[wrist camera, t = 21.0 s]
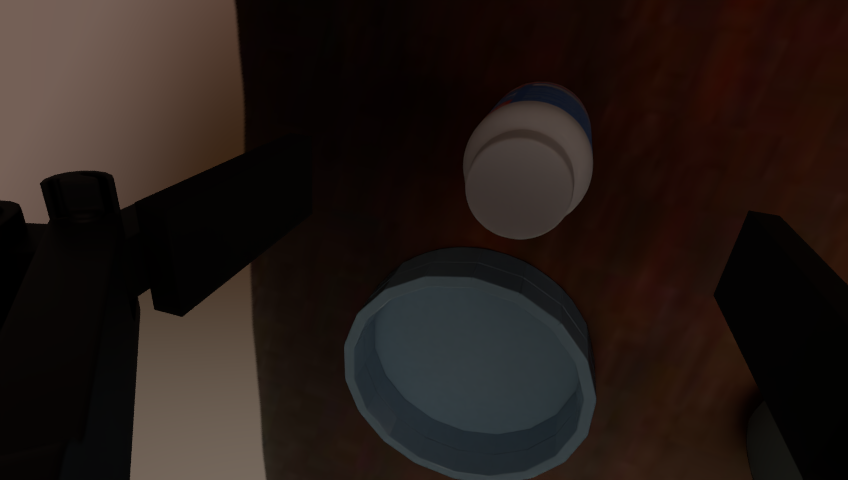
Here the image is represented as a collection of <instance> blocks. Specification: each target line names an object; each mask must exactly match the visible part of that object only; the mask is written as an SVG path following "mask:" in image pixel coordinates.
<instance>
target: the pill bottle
mask: <svg viewBox="0 0 848 480" xmlns="http://www.w3.org/2000/svg"><path fill="white" fill-rule="evenodd" d="M592 170H593V152H592V137H591V124H590V119H589V116H588V113H587V111H586V109H585V107H584V105H583V104H582V102H581V101H580V99H579V98H578V97H577V96H576V95H575V94H574V93H572V92H571V91H570V90H568V89H567V88H565V87H563V86H561V85H558V84H555V83H551V82H532V83H527V84H524V85H521V86H519V87H517V88H515V89H513V90H512V91H510V92H509V93H507V94H506V95H505V96H504V97H503V98H502V99H501V100H500V101H499V102H498V103H497V104H496V105H495V107H494V108H493V109H492V110H491V111H490V112H489V114H488V115H487V116H486V117H485V118H484V119H483V120H482V121H481V123H480V124H479V125H478V126H477V128H476V129H475V130H474V132H473V134H472V135H471V137H470V139H469V141H468V143H467V146H466V149H465V153H464V160H463V173H464V179H465V182H466V183H465V192H466V198H467V202H468V205H469V208H470V210H471V212H472V213H473V215H474V216H475V218H476V219H477V220H478V221H479V222H480V223H481V224H482V225H483V226H484V227H485V228H487V229H488V230H490V231H491V232H493V233H495V234H497V235H499V236H502V237H506V238H510V239H529V238H534V237H537V236H540V235H543V234H545V233H547V232H549V231H550V230H552V229H553V228H554V227H555V226H557V225H558V224H559V223H560V222H561V221H562V219H563V218H564V217H565V216H566V215H567V214H569V213H570V212H571V211H572V210H573V209H574V208H575V207H576V206H577V205H578V204H579V203H580V201H581V200H582V199H583V197H584V195H585V194H586V192H587V189H588V187H589V184H590V181H591V177H592Z"/></svg>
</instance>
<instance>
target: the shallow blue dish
mask: <svg viewBox="0 0 848 480" xmlns="http://www.w3.org/2000/svg"><path fill="white" fill-rule="evenodd" d="M344 354H345V378H346V379H345V380H346V382H347V384H348V387H349V389H350V392H351V394H352V396H353V399H354V401H355V404H356V406H357V408H358V411H359V412H360V413H361V414H362V416H363V417H364V418H365V419H366V420H367V422H368V423H369V424H370V425H371V426H372V428H373V429H374V430H375V431H376V432H377V434H378V435H379V436H380V437H381V438H382V439H383V440H384V441H385V442H386V443H388V444H389V445H390V446H392V447H393V448H395V449H396V450H397V451H399V452H400V453H402V454H403V455H404V456H406V457H407V458H409V459H410V460H412V461H413V462H415V463H416V464H419V465H421V466H424V467H426V468H429V469H431V470H434V471H436V472H439V473H441V474H444V475H446V476H449V477H451V478H454V479H462V480H524V479H530V478H533V477H535V476H537V475H539V474H541V473H543V472H545V471H547V470H550V469H552V468H554V467H556V466H558V465H560V464H562V463H563V462H565V461H566V460H567V459H568V458H569V457H570V455H571V454H572V453H573V452H574V451H575V450H576V448H577V447H578V446H579V445H580V444H581V443H582V442H583V440H584V439H585V438H586V437H587V435H588V432H589V428H590V424H591V420H592V416H593V412H594V408H595V404H596V380H595V360H594V355H593V351H592V346H591V339H590V336H589V332H588V328H587V324H586V322H585V321H584V320H583V318H582V315H581V313H580V312H579V310H578V309H577V307H576V306H575V304H574V303H573V301H572V300H571V299H570V297H569V296H568V295H567V294H566V293H565V292H564V290H563V289H562V288H561V287H560V286H558V285H557V284H556V283H555V282H554V281H553V280H552V279H551V278H549V277H548V276H547V275H545V274H544V273H542V272H541V271H539V270H538V269H537V268H535V267H533V266H531V265H529V264H527V263H525V262H524V261H522V260H519V259H517V258H514V257H512V256H509V255H507V254H503V253H500V252H496V251H492V250H487V249H480V248H470V247H455V248H445V249H439V250H435V251H431V252H427V253H424V254H422V255H419V256H416V257H414V258H412V259H410V260H409V261H406V262H404V263H402V264H401V265H400V266H399V267H398V268H396V269H395V270H394V271H393V272H391V274H390V275H389V276H388V277H387V278H386V279H385V280H384V281H382V282H381V283H380V284H379V285H378V286H377V288H376V289H375V290H374V292H373V293H372V295H371V296H370V297H369V299H368V300H367V301H366V303H365V304H364V306H363V307H362V308H361V310H360V311H359V312H358V314H357V315H356V318H355V320H354V323H353V325H352V327H351V330H350V332H349V334H348V337H347V339H346V342H345V345H344Z"/></svg>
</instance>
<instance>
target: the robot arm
mask: <svg viewBox="0 0 848 480" xmlns="http://www.w3.org/2000/svg"><path fill="white" fill-rule="evenodd" d="M40 185H41V189H42V192H43V196H44V200H45V204H46V207H47V211H48V215H49V218H50V220H49V222H48V224H34V223H25V219H24V216H23V213H22V210H21V207H20V205H19V204H17V203H14V202H11V201H0V480H130V467H131V451H132V435H133V420H134V419H133V417H134V404H135V387H136V372H137V356H138V340H139V323H140V306H139V301H138V296H139V295H141V294H142V293H144V292H145V291H147V290H148V289H151V294H152V299H153V305H154V309H155V310H158V311H162V312H166V313H170V314H173V315H177V316H181V317H183V316H184V315H185V314H186V313H188V312H189V311H190V310H191V309H193V308H194V307H195V306H197V305H198V304H199V303H200V302H201V301H203V300H204V299H205V298H207V297H208V296H209V295H210V294H212V293H213V292H214V291H215V290H217V289H218V288H219V287H220V286H222V285H223V284H224V283H225V282H227V281H228V280H229V279H230V278H232V277H233V276H234V275H235V274H237V273H238V272H239V271H241V270H242V269H243V268H244V267H246V266H247V265H248V264H249V263H251V262H252V261H253V260H254V259H256V258H257V257H258V256H259V255H261V254H262V253H263V252H264V251H266V250H267V249H268V248H270V247H271V246H272V245H273V244H275V243H276V242H277V241H278V240H280V239H281V238H282V237H283V236H285V235H286V234H287V233H288V232H290V231H291V230H292V229H293V228H295V227H296V226H297V225H298V224H300V223H301V222H302V221H303V220H305V219H306V218H307V217H309V216H310V215H311V214H312V151H311V136H305V135H300V134H294V133H289V134H286V135H284V136H282V137H280V138H278V139H275V140H273V141H271V142H269V143H266V144H264V145H262V146H260V147H257V148H255V149H253V150H251V151H249V152H246V153H244V154H242V155H240V156H237V157H235V158H233V159H231V160H228V161H226V162H224V163H222V164H219V165H218V166H215V167H213V168H211V169H208V170H206V171H204V172H202V173H199V174H197V175H195V176H193V177H190V178H188V179H186V180H184V181H182V182H179V183H177V184H175V185H173V186H170V187H168V188H166V189H164V190H162V191H159V192H157V193H155V194H152V195H150V196H148V197H146V198H144V199H142V200H139V201H137V202H135V203H134V204H132V205H130V206H128V207H126V208H124V209H122V210H120V207H119V202H118V197H117V192H116V187H115V182H114V178H113V176H112V175H110V174H108V173H106V172H99V171H75V172H67V173H62V174H57V175H54V176H51V177H49V178H46V179H44V180H43V181H42V182H41V183H40ZM714 297H715V299H716V301H717V303H718V305H719V307H720V309H721V311H722V314H723V316H724V318H725V320H726V322H727V324H728V326H729V328H730V330H731V332H732V334H733V336H734V338H735V340H736V342H737V344H738V347H739V349H740V351H741V353H742V355H743V357H744V359H745V361H746V363H747V365H748V367H749V369H750V371H751V373H752V375H753V377H754V379H755V382H756V384H757V386H758V388H759V390H760V392H761V394H762V396H763V398H764V400H765V402H766V404H767V406H768V408H769V410H770V412H771V415H772V417H773V419H774V421H775V423H776V425H777V427H778V429H779V431H780V433H781V435H782V437H783V439H784V441H785V443H786V445H787V447H788V450H789V452H790V454H791V456H792V458H793V460H794V462H795V464H796V466H797V468H798V470H799V472H800V474H801V476H802V478H803V480H848V285H847V284H846V283H845V282H844V281H843V280H842V279H841V278H840V277H839V276H838V275H837V274H836V273H835V272H834V271H833V270H832V269H831V268H830V267H829V266H828V265H827V264H826V263H825V262H824V261H823V260H822V259H821V257H820V256H819V255H818V254H817V253H816V252H815V251H814V250H813V249H812V248H811V247H810V246H809V245H808V244H807V243H806V242H805V241H804V240H803V239H802V238H801V237H800V236H799V235H798V234H797V233H796V232H795V231H794V230H793V229H792V228H791V227H790V226H789V225H788V224H787V223H786V222H785V221H784V220H783V219H782V218H781V217H780V216H777V215H772V214H766V213H760V212H754V211H748V214H747V216H746V219H745V221H744V223H743V226H742V228H741V231H740V233H739V235H738V238H737V240H736V242H735V245H734V247H733V250H732V252H731V254H730V257H729V259H728V262H727V264H726V266H725V269H724V271H723V273H722V276H721V278H720V281H719V283H718V285H717V288H716V290H715V293H714Z"/></svg>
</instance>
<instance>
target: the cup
mask: <svg viewBox="0 0 848 480" xmlns="http://www.w3.org/2000/svg"><path fill="white" fill-rule="evenodd" d="M746 450H747V457H748V463H749V467H750V471H751V475H752V478H753V480H803V478H802V476H801V474H800V472H799V470H798V468H797V466H796V464H795V462H794V460H793V458H792V456H791V454H790V452H789V450H788V447H787V445H786V443H785V441H784V439H783V437H782V435H781V433H780V431H779V429H778V427H777V425H776V423H775V421H774V419H773V417H772V415H771V412H770V410H769V408H768V406H767V404H766V402H765V400H764V399H763V400H762V401H761V402H760V404H759V405H758V406H757V407H756V408H755V410H754V412H753V413H752V415H751V417H750V419H749V422H748V425H747V430H746Z"/></svg>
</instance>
